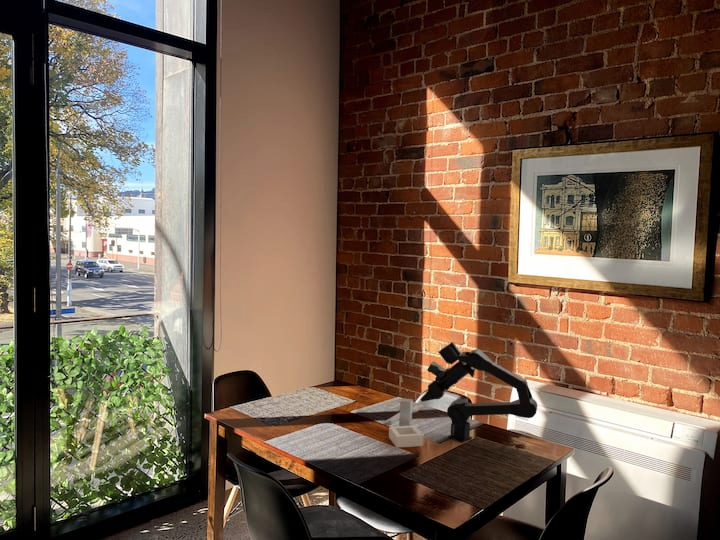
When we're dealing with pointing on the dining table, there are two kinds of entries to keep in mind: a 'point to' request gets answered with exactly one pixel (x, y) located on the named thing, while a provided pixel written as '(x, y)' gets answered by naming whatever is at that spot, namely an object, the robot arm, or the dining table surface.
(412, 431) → the socket block
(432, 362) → the robot arm
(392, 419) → the adjustable wrench
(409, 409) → the steel peg
